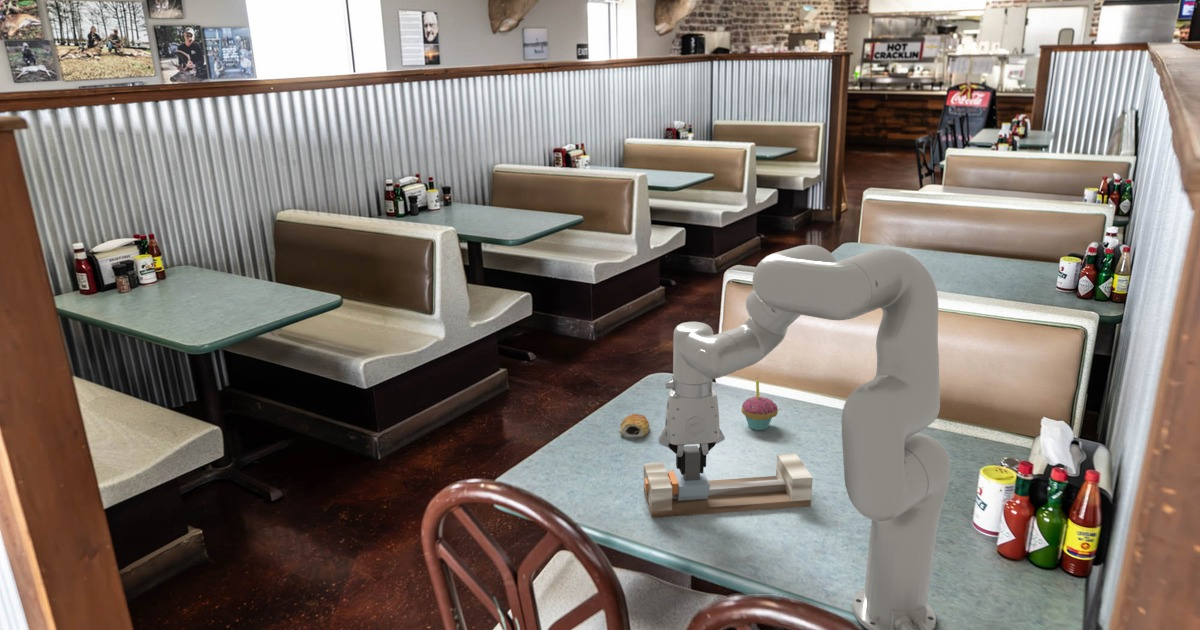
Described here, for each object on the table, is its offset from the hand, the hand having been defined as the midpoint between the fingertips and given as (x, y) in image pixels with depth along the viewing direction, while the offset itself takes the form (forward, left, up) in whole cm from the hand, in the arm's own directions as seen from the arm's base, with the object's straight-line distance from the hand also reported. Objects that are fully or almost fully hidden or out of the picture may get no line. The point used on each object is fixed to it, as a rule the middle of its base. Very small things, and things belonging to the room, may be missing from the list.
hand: (690, 469), depth 163 cm
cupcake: (+31, -23, -7) cm, 39 cm away
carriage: (0, 0, -5) cm, 5 cm away
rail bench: (0, -7, -7) cm, 10 cm away
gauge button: (0, +6, -4) cm, 7 cm away
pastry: (+33, +7, -8) cm, 35 cm away
